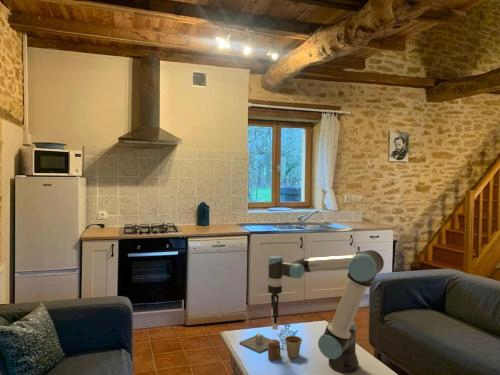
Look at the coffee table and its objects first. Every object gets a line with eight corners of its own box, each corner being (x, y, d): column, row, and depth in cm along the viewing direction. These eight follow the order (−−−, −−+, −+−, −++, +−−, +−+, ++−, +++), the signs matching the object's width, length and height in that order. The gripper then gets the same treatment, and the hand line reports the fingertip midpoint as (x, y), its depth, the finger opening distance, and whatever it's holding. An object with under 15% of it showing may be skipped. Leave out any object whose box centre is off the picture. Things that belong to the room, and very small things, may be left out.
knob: (279, 353, 201) (279, 339, 201) (280, 359, 195) (280, 344, 195) (268, 353, 201) (268, 339, 201) (268, 359, 195) (268, 344, 195)
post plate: (278, 344, 213) (278, 335, 213) (259, 353, 202) (259, 343, 202) (258, 335, 224) (258, 327, 224) (239, 343, 213) (239, 334, 213)
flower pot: (301, 360, 195) (301, 344, 195) (283, 358, 197) (283, 342, 197) (302, 352, 204) (302, 336, 204) (285, 350, 206) (285, 335, 206)
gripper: (267, 278, 210) (266, 315, 211) (269, 291, 185) (268, 333, 186) (280, 278, 210) (279, 315, 211) (284, 292, 185) (283, 333, 186)
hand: (274, 324), depth 198 cm, fingers open, 13 cm apart
